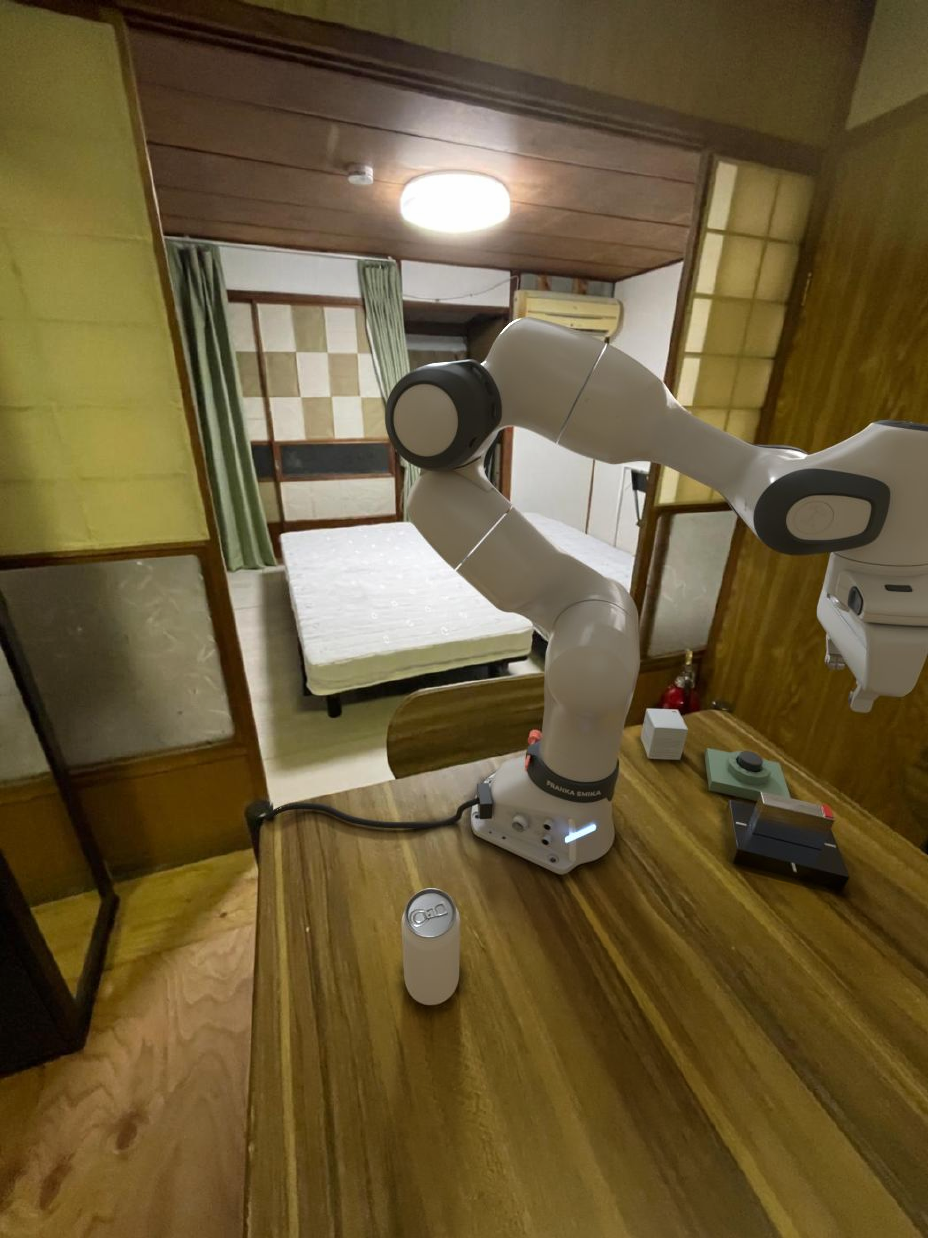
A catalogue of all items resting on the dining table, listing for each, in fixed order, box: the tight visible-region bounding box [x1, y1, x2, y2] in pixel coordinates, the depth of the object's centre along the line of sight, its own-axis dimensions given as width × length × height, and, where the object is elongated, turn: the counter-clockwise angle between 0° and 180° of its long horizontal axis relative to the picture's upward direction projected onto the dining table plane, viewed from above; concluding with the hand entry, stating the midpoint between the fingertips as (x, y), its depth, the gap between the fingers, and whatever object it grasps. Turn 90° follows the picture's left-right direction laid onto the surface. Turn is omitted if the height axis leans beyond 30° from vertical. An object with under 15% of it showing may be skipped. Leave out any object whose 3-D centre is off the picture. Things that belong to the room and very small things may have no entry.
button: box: [737, 750, 764, 772], centre depth 88 cm, size 4×4×2 cm
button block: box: [704, 747, 792, 802], centre depth 89 cm, size 12×9×4 cm
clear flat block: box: [750, 792, 836, 849], centre depth 75 cm, size 9×2×6 cm, turn 72°
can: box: [400, 887, 461, 1006], centre depth 58 cm, size 6×6×12 cm
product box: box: [640, 707, 689, 761], centre depth 96 cm, size 6×6×7 cm
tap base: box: [724, 799, 850, 892], centre depth 77 cm, size 14×13×3 cm
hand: (845, 686), depth 62 cm, fingers open, 8 cm apart
